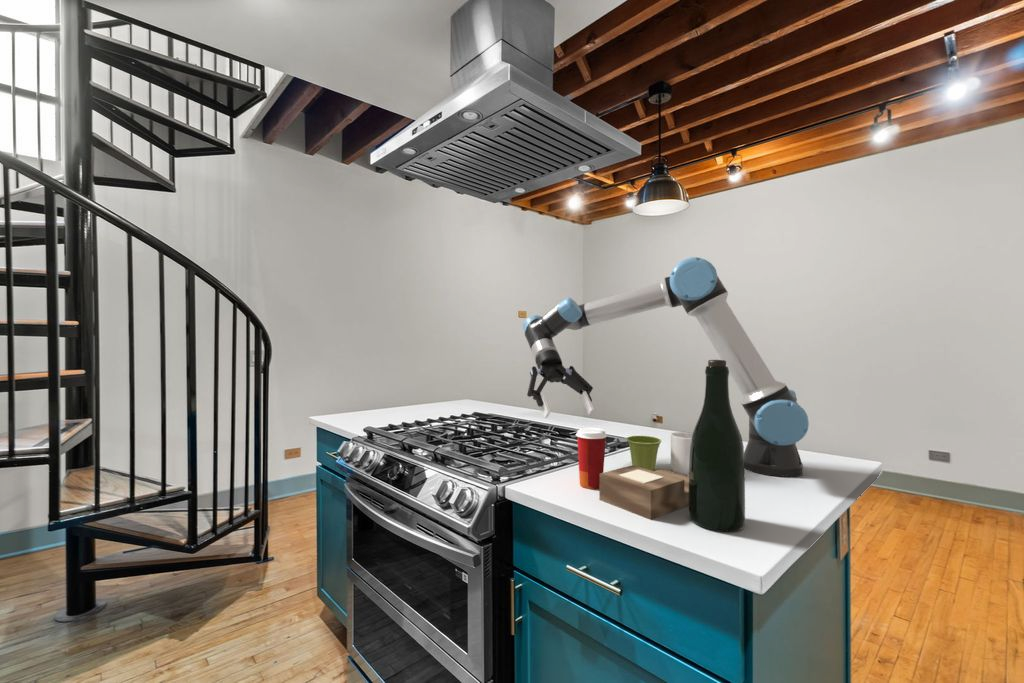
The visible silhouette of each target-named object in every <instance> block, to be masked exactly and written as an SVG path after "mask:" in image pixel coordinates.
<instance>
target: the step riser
mask: <svg viewBox="0 0 1024 683" xmlns="http://www.w3.org/2000/svg"><path fill="white" fill-rule="evenodd" d="M598 491H599V495H598V496H599V501H602V502H604V503H607V504H610V505H613V506H614V507H618V508H619V509H622V510H625V511H628V512H629V513H632V514H636V515H637V516H640V517H643V518H645V519H648V520H650V519H651V520H654V519H656V518H659V517H661V515H662V516H663V515H667V514H669V513H672V512H675V511H677V510H680V509H682V508H685V507H688V491H689V476H686V475H682V474H678V473H675V472H673V471H672V470H671V471H670V470H668V469H664V468H661V469H658V470H654V471H652V470H648V469H645V468H641V467H638V466H634V465H632V464H631V465H628V466H625V467H621V468H617V469H612V470H609V471H605V472H604V471H603V473H600V488H599V490H598ZM658 516H659V517H658ZM653 518H654V519H653Z"/></svg>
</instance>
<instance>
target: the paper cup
mask: <svg viewBox="0 0 1024 683" xmlns="http://www.w3.org/2000/svg"><path fill="white" fill-rule="evenodd" d="M575 436H576V437H577V456H578V475H579V486H580V487H581V488H583V489H587V490H600V473H604V468H605V457H606V456H605V454H606V438H607V437H608V435H607V434H606V431H605V430H604V428H598V427H581V428H579V429H578V430H577V431H576V434H575Z"/></svg>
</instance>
